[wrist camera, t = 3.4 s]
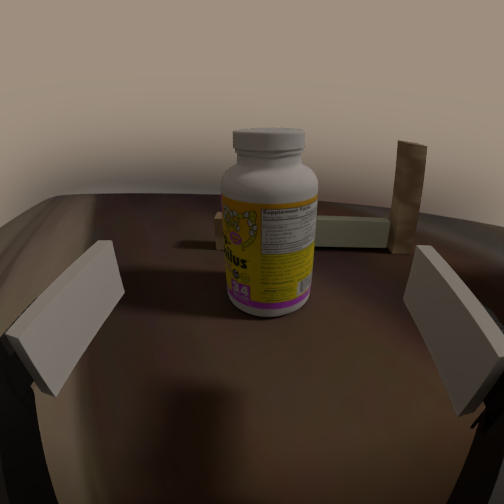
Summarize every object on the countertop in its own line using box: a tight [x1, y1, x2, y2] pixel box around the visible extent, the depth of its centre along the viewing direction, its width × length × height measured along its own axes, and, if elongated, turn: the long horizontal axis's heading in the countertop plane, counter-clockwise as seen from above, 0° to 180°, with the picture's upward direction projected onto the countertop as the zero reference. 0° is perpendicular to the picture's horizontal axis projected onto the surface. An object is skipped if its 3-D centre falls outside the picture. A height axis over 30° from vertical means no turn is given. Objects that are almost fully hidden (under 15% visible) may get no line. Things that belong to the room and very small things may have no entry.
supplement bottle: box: [221, 128, 318, 317], centre depth 21 cm, size 7×7×13 cm
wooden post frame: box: [214, 141, 427, 254], centre depth 29 cm, size 22×2×12 cm, turn 86°
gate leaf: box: [314, 216, 390, 248], centre depth 31 cm, size 16×2×3 cm, turn 85°
